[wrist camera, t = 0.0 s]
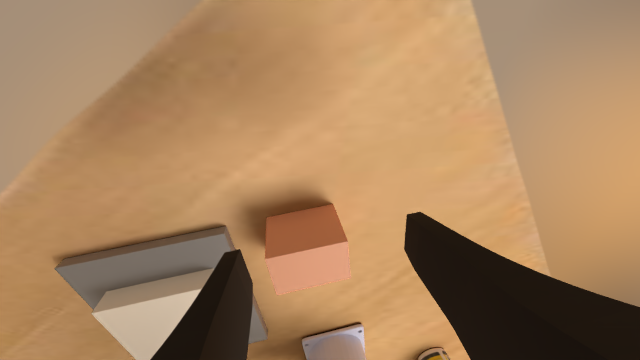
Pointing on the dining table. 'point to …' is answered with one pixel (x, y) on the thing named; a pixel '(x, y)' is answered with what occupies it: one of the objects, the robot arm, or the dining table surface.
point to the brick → (306, 249)
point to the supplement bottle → (434, 354)
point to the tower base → (152, 267)
